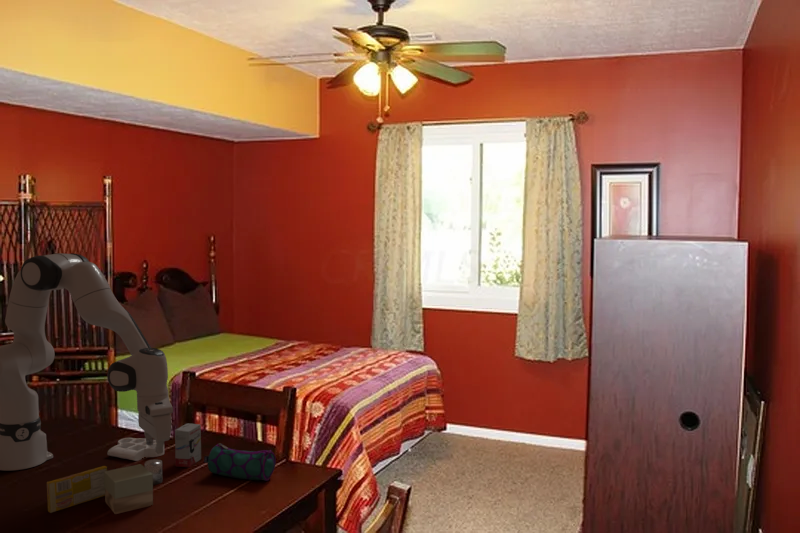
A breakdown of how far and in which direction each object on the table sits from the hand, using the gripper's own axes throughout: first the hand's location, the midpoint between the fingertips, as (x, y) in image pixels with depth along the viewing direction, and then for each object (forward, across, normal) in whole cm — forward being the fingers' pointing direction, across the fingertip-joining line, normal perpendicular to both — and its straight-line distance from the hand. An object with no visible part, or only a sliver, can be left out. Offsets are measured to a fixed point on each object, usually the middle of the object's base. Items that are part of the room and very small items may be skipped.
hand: (154, 448), depth 205 cm
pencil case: (+11, +10, +23) cm, 27 cm away
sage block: (+6, +12, -11) cm, 17 cm away
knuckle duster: (+10, -30, +3) cm, 31 cm away
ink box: (+10, -10, +14) cm, 20 cm away
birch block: (+10, +12, -11) cm, 19 cm away
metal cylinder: (+10, 0, 0) cm, 10 cm away
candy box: (+10, +3, -22) cm, 24 cm away
